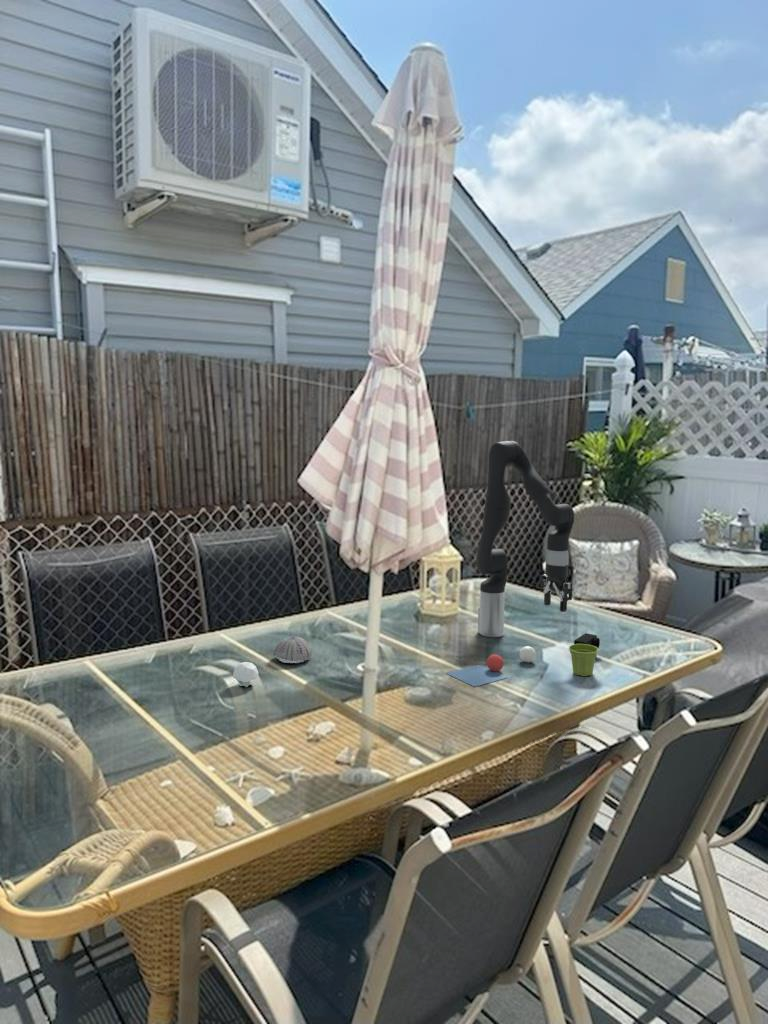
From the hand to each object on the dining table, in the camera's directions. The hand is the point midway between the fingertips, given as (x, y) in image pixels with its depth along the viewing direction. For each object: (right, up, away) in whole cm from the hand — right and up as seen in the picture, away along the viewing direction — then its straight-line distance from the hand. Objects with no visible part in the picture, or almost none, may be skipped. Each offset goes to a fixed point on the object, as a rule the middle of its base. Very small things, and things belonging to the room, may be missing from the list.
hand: (555, 608), depth 247 cm
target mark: (-29, -20, -14) cm, 38 cm away
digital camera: (+12, -18, +4) cm, 22 cm away
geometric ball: (-102, -22, -23) cm, 107 cm away
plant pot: (+6, -20, -12) cm, 24 cm away
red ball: (-22, -17, -10) cm, 30 cm away
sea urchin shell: (-91, -18, +1) cm, 93 cm away
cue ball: (-10, -16, -2) cm, 19 cm away
